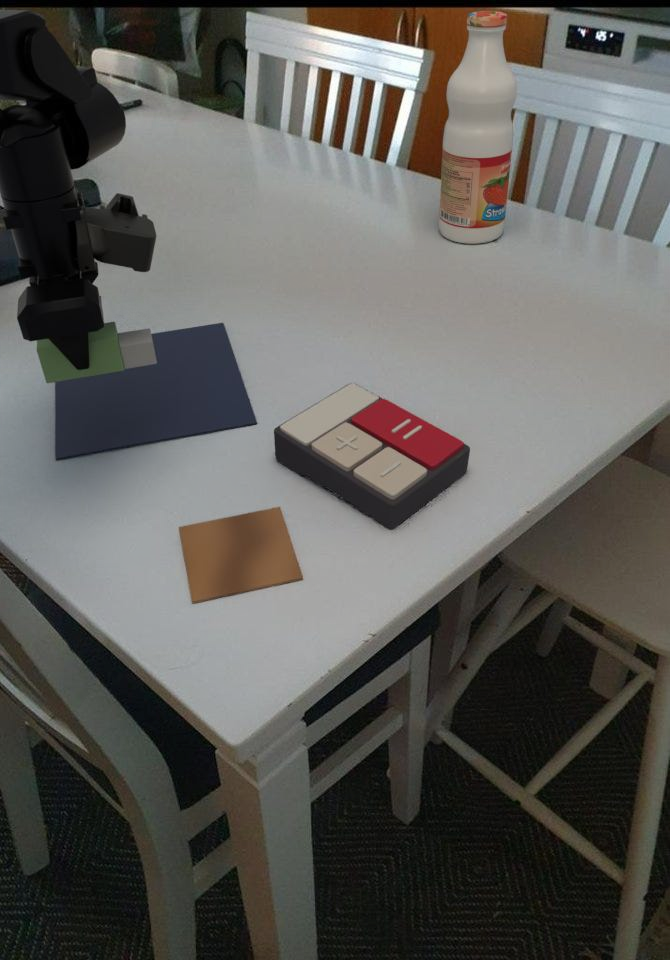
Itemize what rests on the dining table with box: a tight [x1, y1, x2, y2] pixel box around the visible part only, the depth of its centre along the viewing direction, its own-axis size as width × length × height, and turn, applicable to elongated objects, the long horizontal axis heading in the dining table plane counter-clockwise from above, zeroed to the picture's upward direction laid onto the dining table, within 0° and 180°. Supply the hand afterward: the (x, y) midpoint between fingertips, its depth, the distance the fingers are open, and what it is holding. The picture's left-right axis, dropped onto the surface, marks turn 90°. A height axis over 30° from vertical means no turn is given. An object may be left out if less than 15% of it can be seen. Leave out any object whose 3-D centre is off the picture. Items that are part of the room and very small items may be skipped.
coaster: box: [178, 506, 304, 604], centre depth 68 cm, size 9×9×1 cm
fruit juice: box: [438, 10, 518, 245], centre depth 109 cm, size 9×9×28 cm
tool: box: [36, 321, 157, 384], centre depth 74 cm, size 10×3×4 cm, turn 105°
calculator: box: [273, 382, 471, 530], centre depth 75 cm, size 11×4×15 cm
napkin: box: [54, 322, 258, 461], centre depth 89 cm, size 20×22×1 cm
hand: (82, 359), depth 74 cm, fingers closed on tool, 3 cm apart
